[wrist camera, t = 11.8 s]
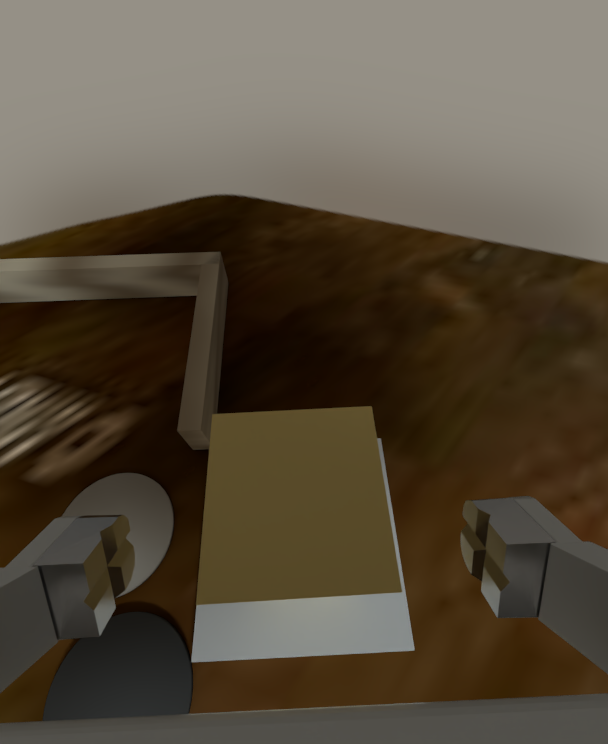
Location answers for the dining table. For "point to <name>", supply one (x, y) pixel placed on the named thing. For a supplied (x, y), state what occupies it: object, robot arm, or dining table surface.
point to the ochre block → (295, 508)
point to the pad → (306, 623)
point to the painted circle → (132, 517)
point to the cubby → (140, 281)
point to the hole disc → (124, 672)
